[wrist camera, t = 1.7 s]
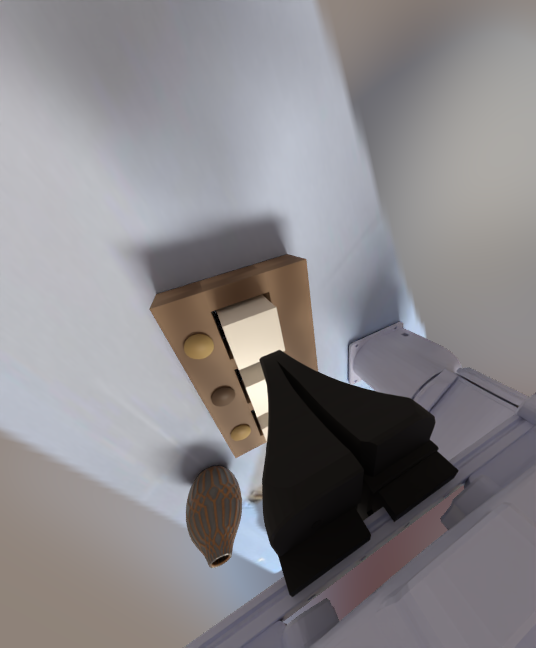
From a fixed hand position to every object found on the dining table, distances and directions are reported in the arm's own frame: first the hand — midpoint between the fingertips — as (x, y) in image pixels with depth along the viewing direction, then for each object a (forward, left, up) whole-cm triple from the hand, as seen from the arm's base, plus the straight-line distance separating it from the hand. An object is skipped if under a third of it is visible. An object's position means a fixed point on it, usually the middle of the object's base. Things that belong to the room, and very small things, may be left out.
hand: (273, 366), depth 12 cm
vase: (+11, +23, -9) cm, 27 cm away
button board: (0, +6, -9) cm, 11 cm away
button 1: (0, 0, -7) cm, 7 cm away
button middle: (0, +6, -7) cm, 9 cm away
